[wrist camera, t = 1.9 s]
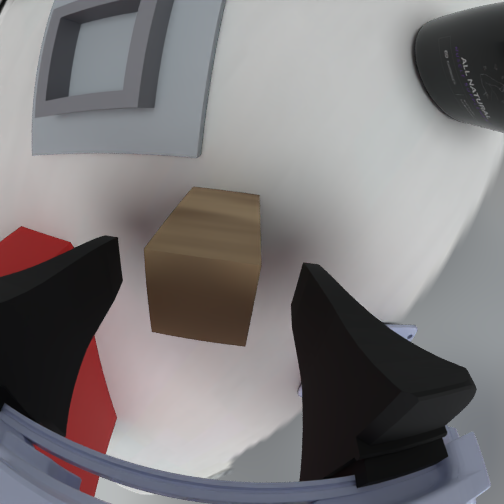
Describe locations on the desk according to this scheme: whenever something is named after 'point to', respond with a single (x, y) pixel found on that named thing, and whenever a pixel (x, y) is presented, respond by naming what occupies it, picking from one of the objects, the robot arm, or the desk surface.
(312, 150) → the desk surface
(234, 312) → the oak peg
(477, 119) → the supplement bottle
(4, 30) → the desk surface
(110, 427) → the book
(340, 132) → the desk surface
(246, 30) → the desk surface
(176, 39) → the stand
